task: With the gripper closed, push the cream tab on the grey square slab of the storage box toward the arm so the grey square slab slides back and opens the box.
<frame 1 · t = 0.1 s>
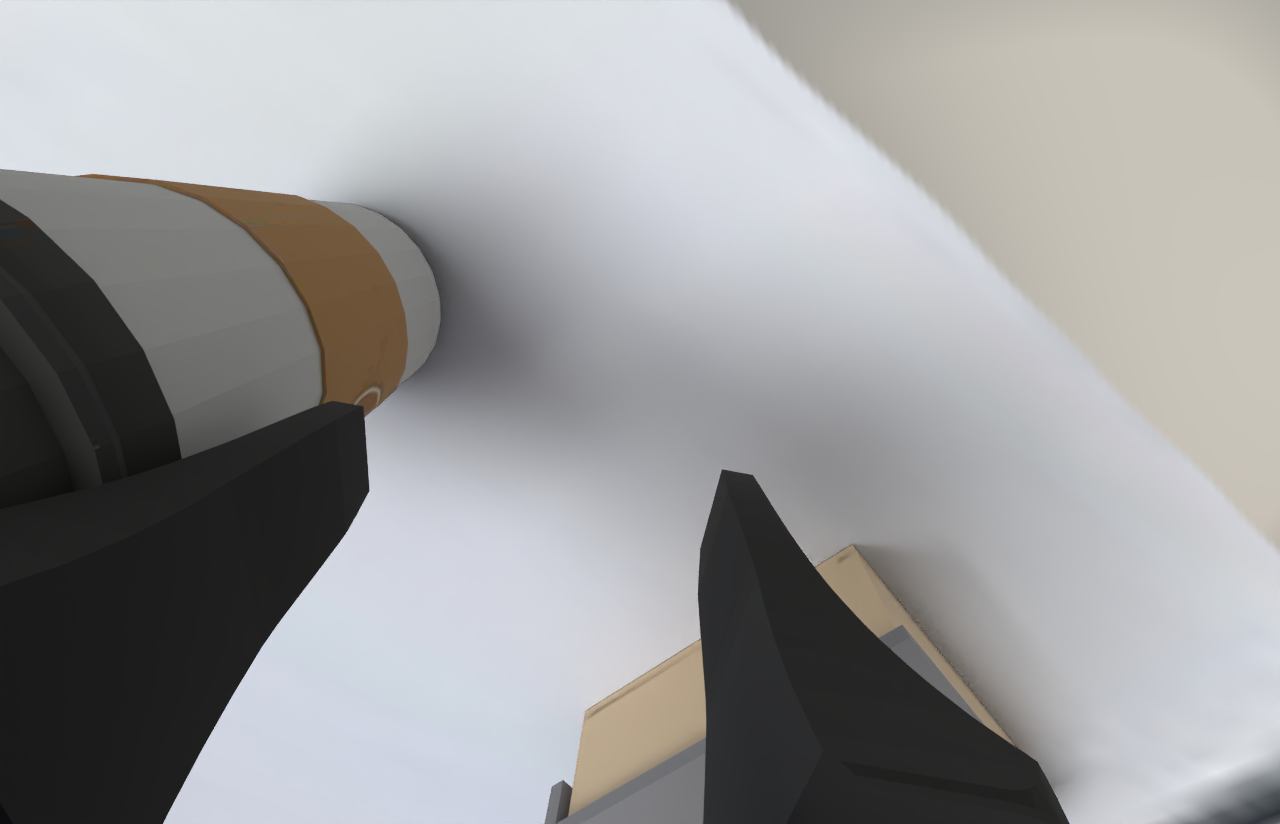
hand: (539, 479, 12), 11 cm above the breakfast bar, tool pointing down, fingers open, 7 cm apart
coffee cup: (363, 297, 22), on the breakfast bar, touching gripper
storage box: (805, 735, 28), on the breakfast bar
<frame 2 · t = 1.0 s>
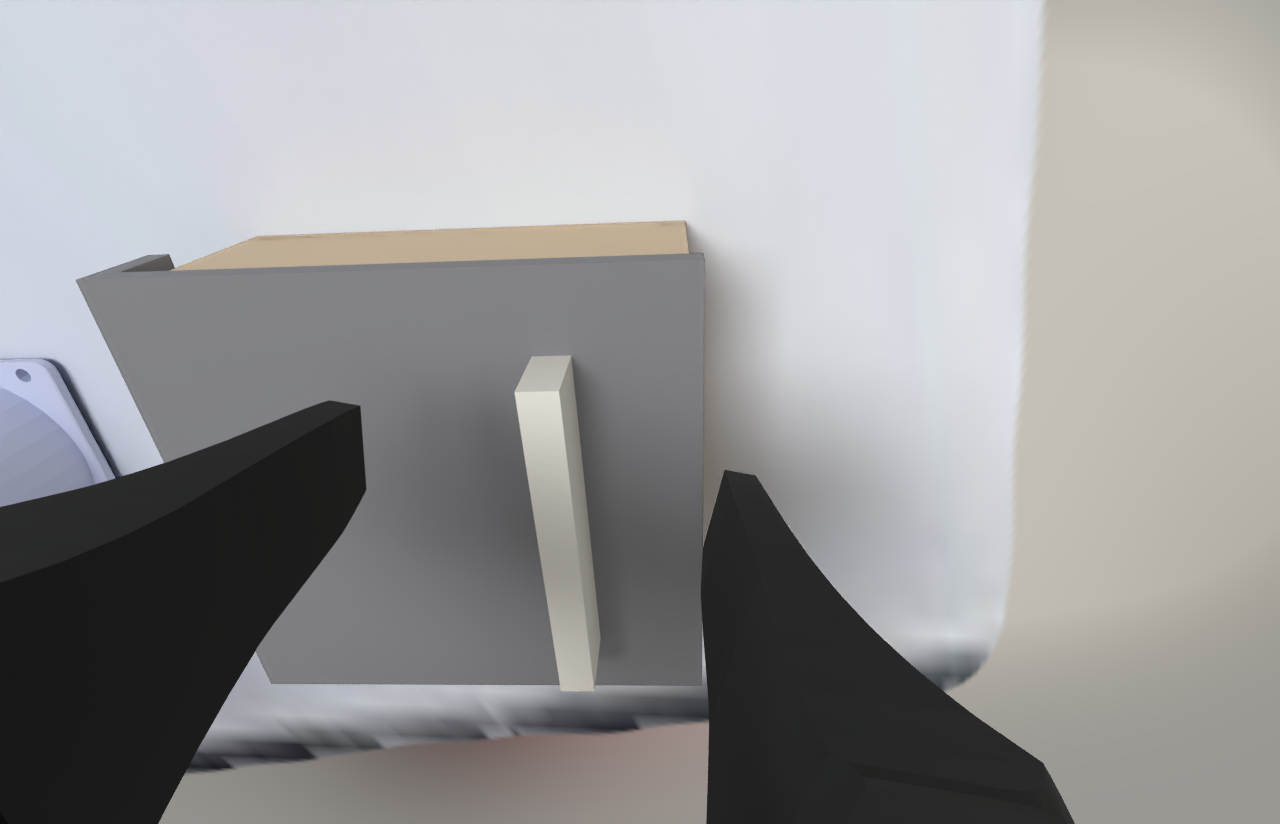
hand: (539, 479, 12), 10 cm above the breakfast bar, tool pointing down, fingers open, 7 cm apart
grey square slab: (443, 512, 18), point 6 cm above the breakfast bar, slide at 0.0 cm
storage box: (499, 418, 23), on the breakfast bar
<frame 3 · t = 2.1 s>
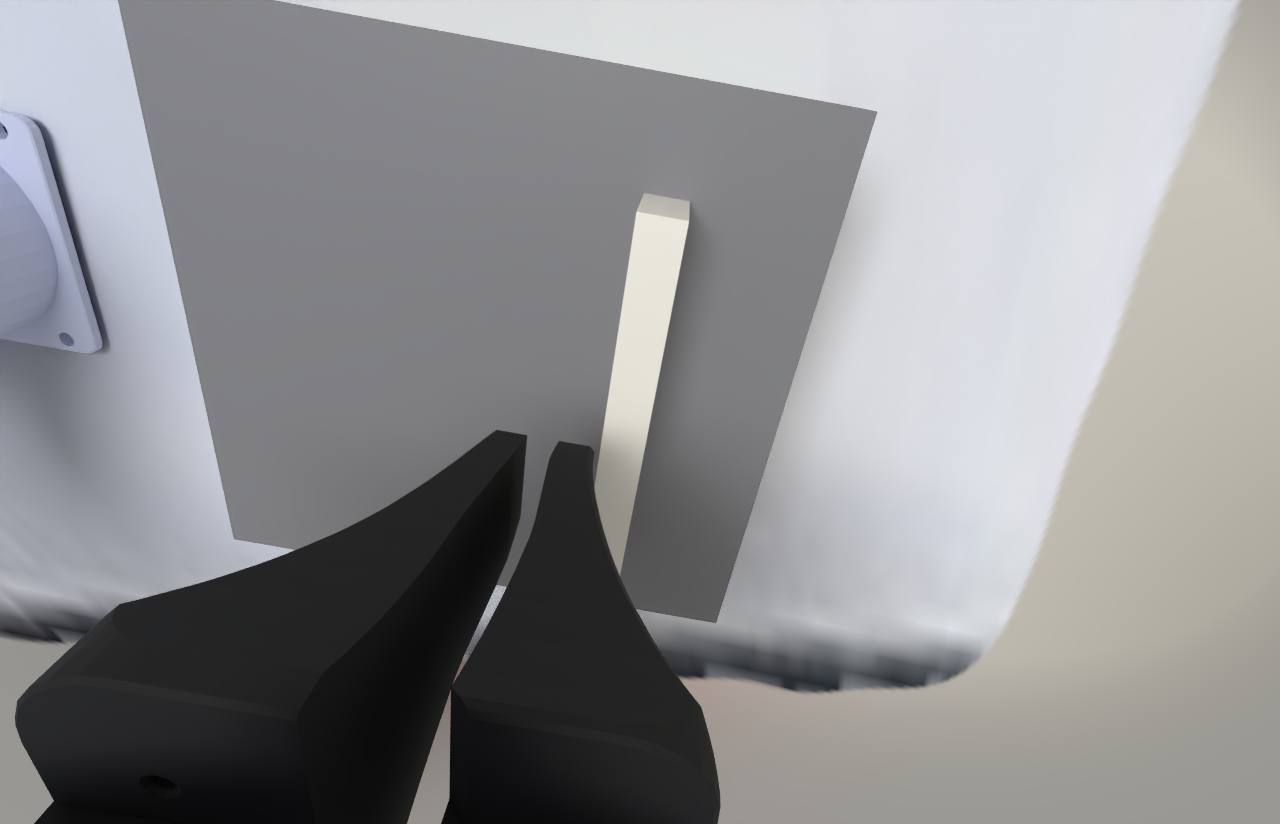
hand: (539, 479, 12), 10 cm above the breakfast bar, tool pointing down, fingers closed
grey square slab: (486, 369, 16), point 6 cm above the breakfast bar, slide at 0.0 cm
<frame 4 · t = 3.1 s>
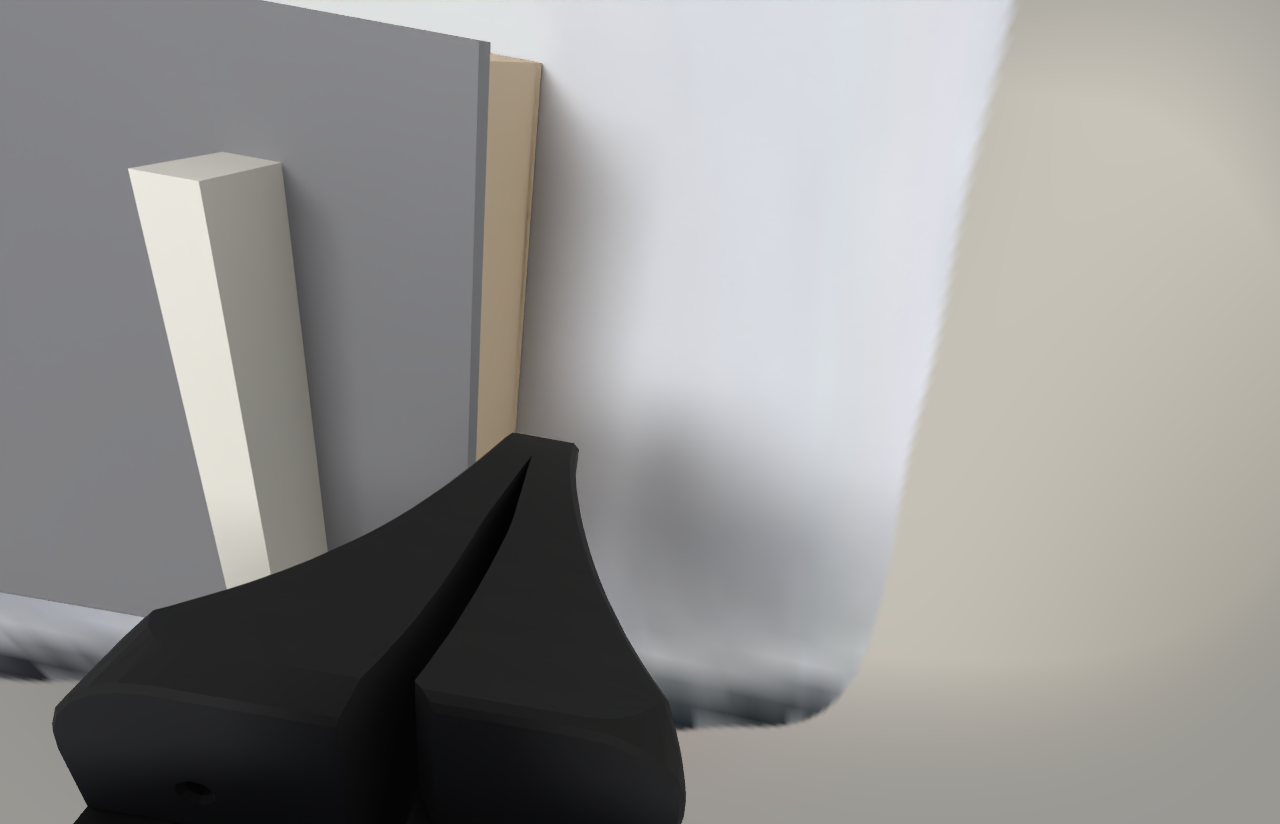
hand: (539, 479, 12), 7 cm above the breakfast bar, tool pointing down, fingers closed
grey square slab: (114, 375, 13), point 6 cm above the breakfast bar, slide at 0.0 cm
storage box: (284, 292, 18), on the breakfast bar
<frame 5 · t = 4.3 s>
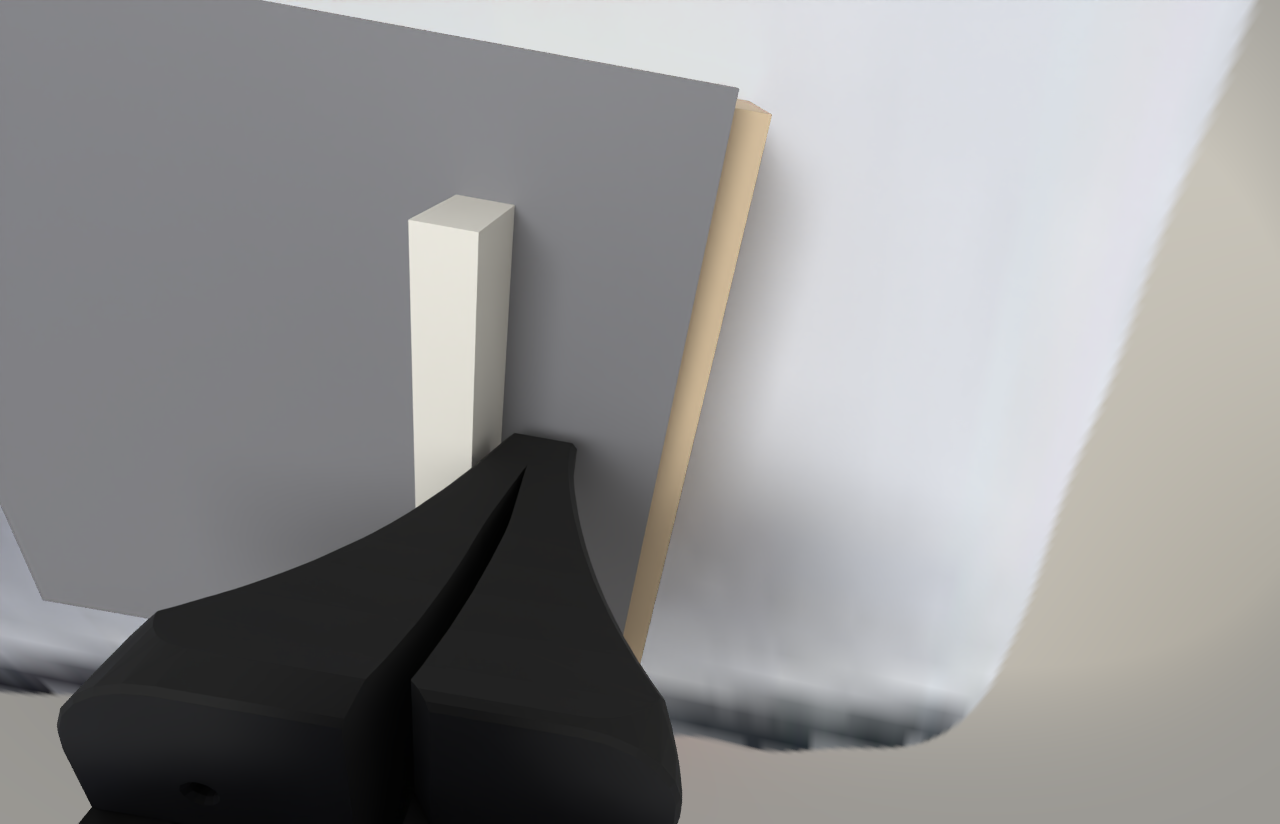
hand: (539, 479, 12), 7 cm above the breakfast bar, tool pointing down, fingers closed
grey square slab: (301, 409, 13), point 6 cm above the breakfast bar, slide at 1.0 cm, touching gripper
storage box: (453, 323, 18), on the breakfast bar
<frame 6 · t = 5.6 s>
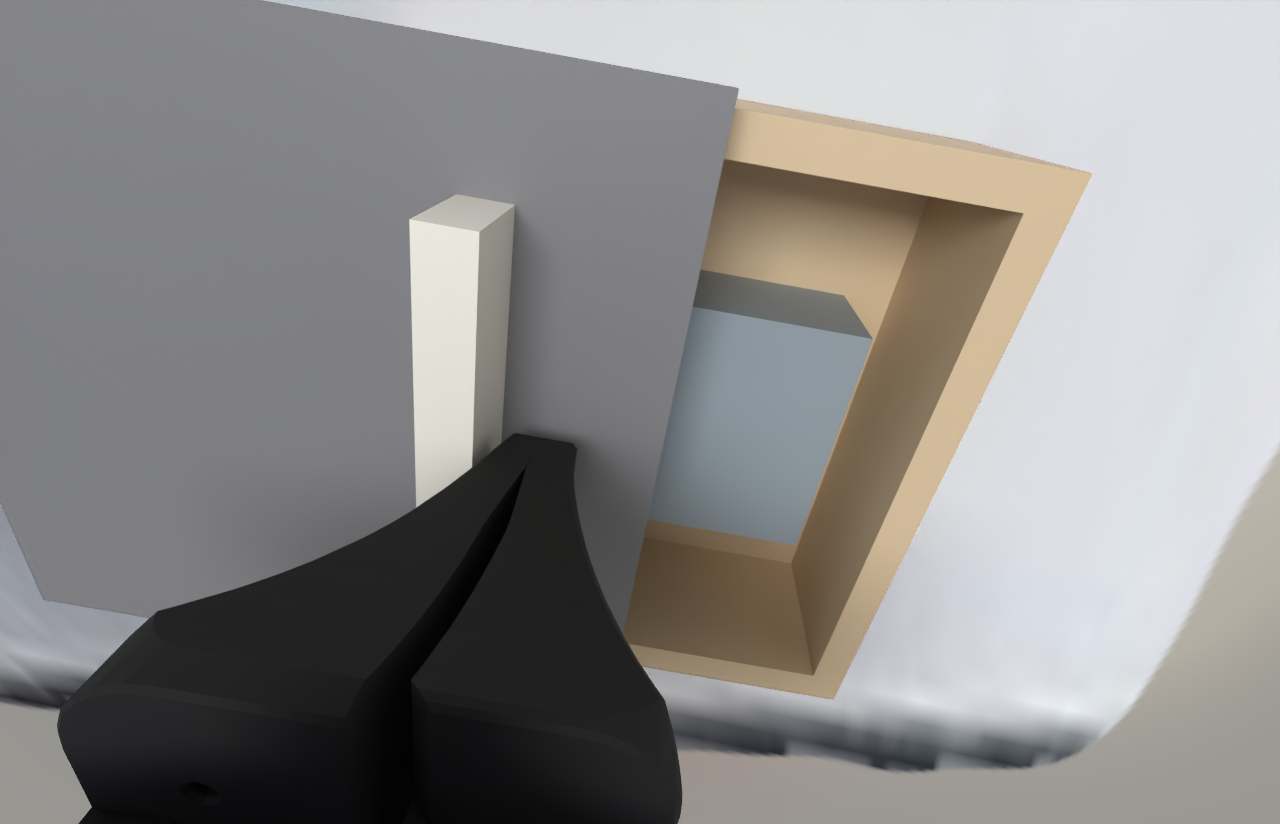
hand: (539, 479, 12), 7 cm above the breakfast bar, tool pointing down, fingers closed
grey square slab: (302, 408, 13), point 6 cm above the breakfast bar, slide at 6.5 cm, touching gripper
storage box: (639, 355, 18), on the breakfast bar
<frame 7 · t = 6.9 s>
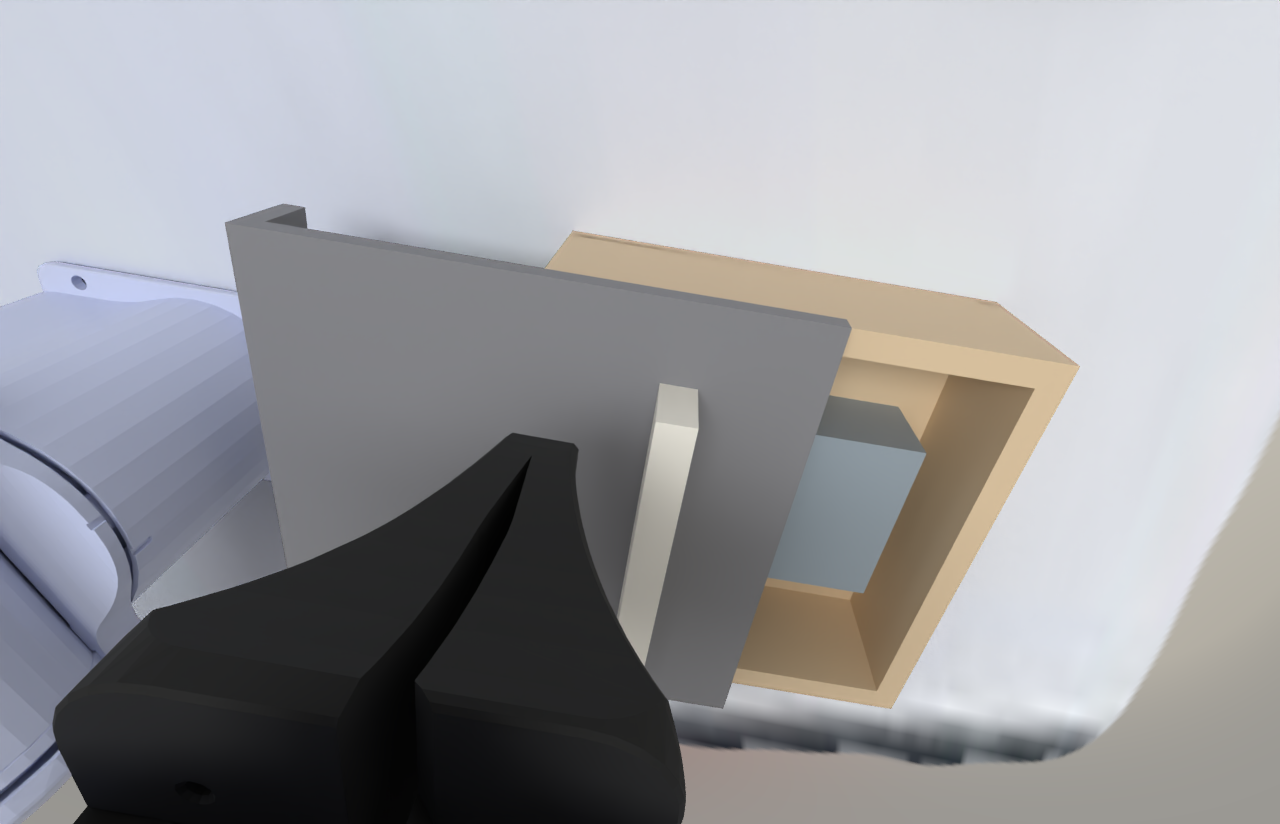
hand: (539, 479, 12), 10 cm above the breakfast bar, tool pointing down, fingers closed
grey square slab: (524, 509, 19), point 6 cm above the breakfast bar, slide at 6.5 cm
storage box: (737, 445, 24), on the breakfast bar
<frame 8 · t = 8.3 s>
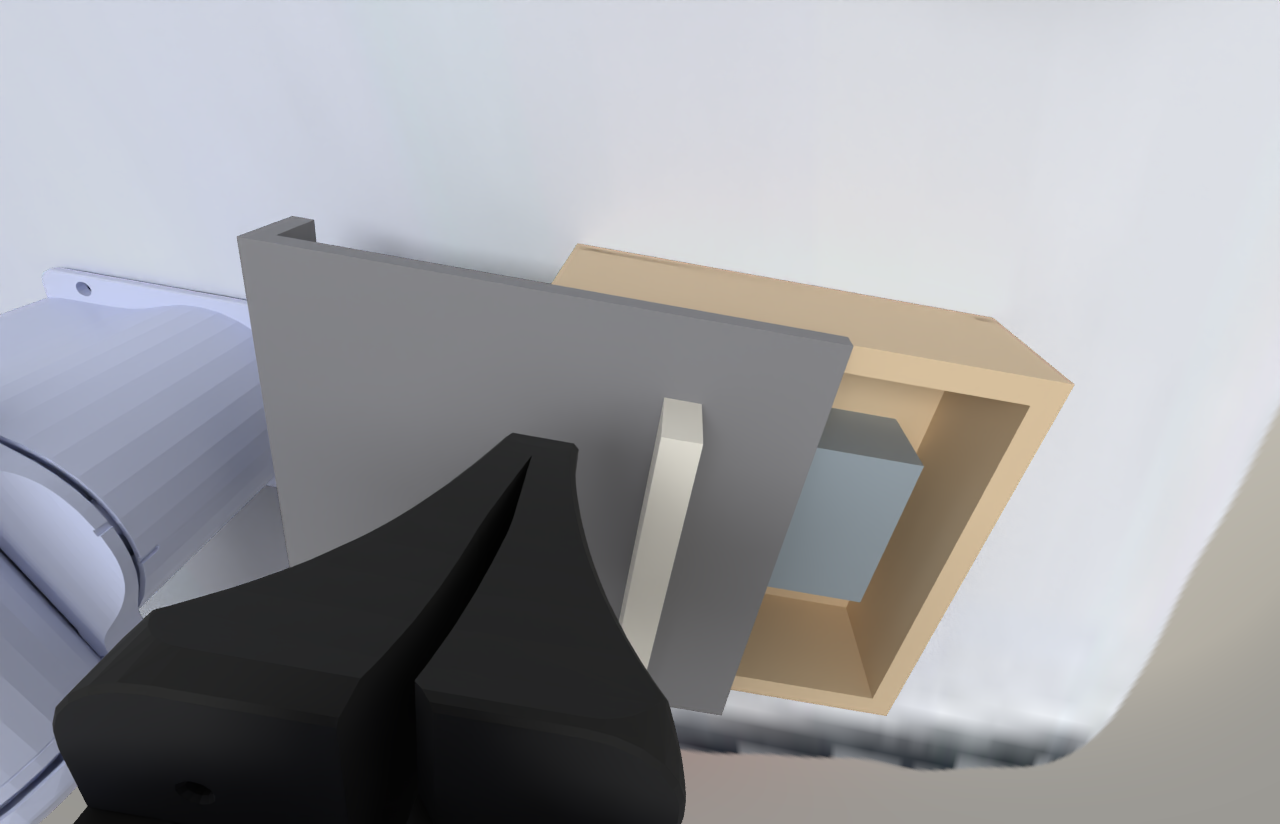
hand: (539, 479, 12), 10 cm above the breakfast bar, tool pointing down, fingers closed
grey square slab: (528, 519, 19), point 6 cm above the breakfast bar, slide at 6.5 cm
storage box: (736, 455, 24), on the breakfast bar
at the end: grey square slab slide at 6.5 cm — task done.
